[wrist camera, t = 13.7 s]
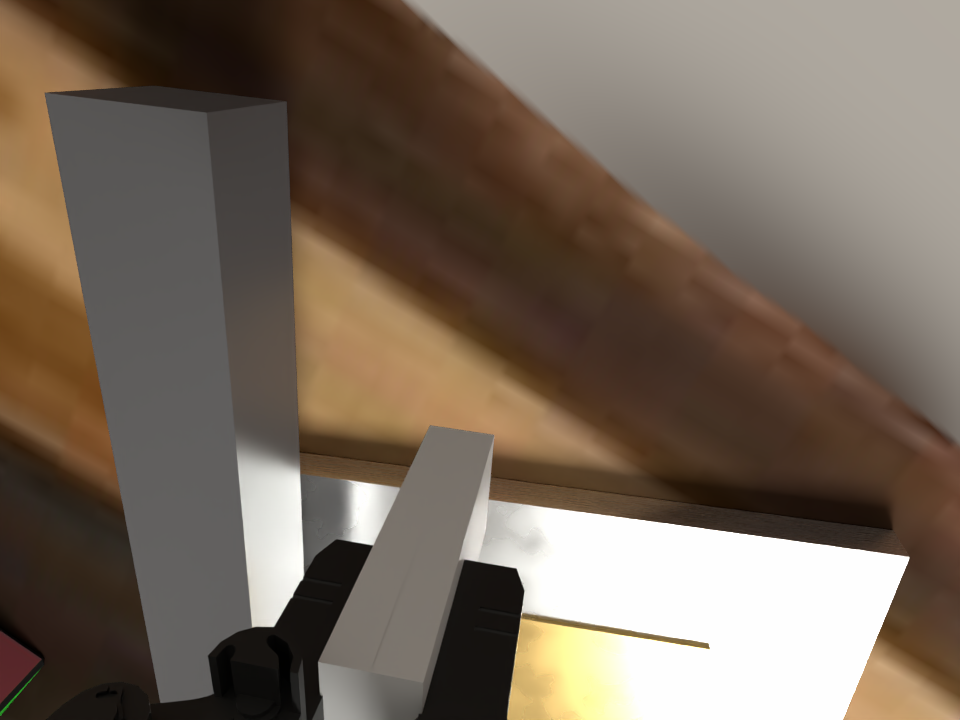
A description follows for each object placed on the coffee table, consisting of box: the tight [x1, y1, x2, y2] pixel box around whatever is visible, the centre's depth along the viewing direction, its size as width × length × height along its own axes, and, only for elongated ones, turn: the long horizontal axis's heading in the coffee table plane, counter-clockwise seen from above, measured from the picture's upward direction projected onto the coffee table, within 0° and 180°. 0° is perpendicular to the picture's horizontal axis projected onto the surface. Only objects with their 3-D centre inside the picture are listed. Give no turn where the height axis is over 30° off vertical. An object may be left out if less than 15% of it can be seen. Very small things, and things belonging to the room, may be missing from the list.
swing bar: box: [45, 86, 304, 703], centre depth 22 cm, size 4×27×4 cm, turn 175°
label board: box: [299, 452, 910, 720], centre depth 30 cm, size 20×28×4 cm
